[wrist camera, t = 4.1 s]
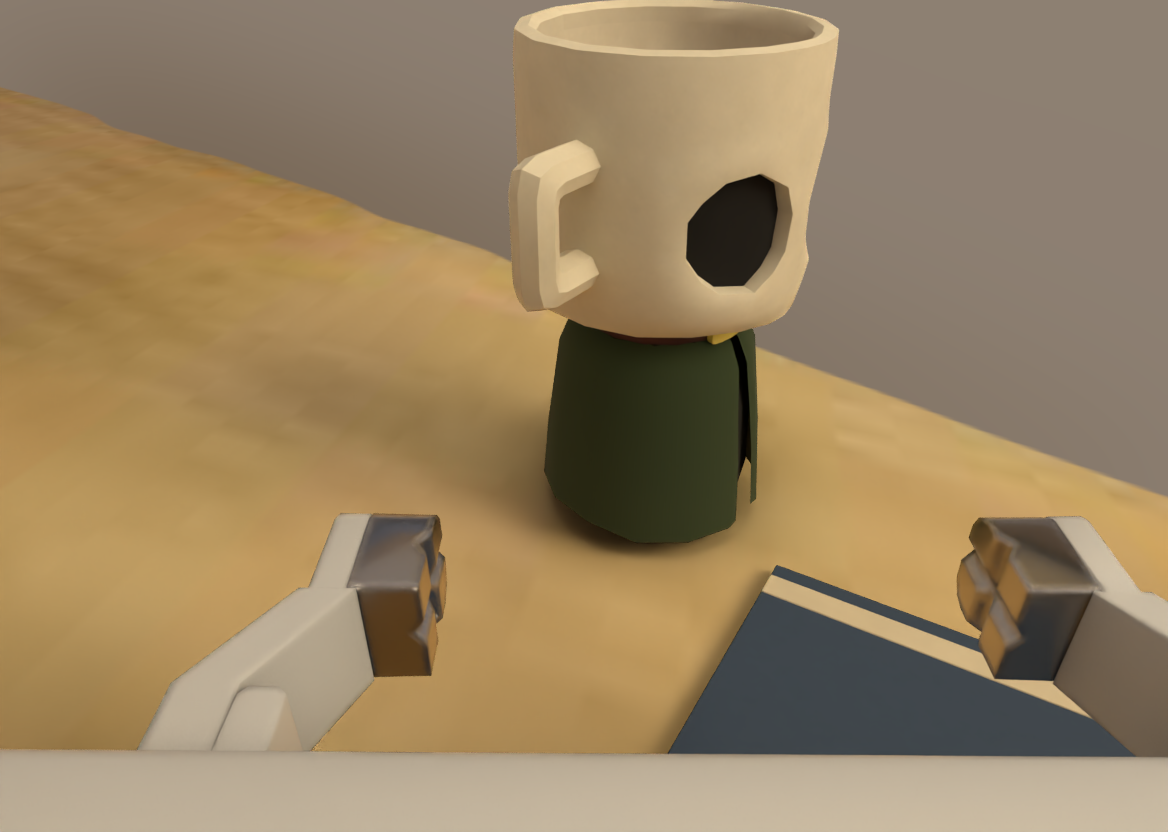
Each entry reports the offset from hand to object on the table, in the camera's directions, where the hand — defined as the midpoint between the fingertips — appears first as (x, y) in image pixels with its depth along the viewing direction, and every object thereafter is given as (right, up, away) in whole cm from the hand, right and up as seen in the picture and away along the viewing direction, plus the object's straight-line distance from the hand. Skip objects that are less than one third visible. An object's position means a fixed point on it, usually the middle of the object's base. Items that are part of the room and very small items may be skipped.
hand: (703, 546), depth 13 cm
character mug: (0, 0, +13) cm, 13 cm away
